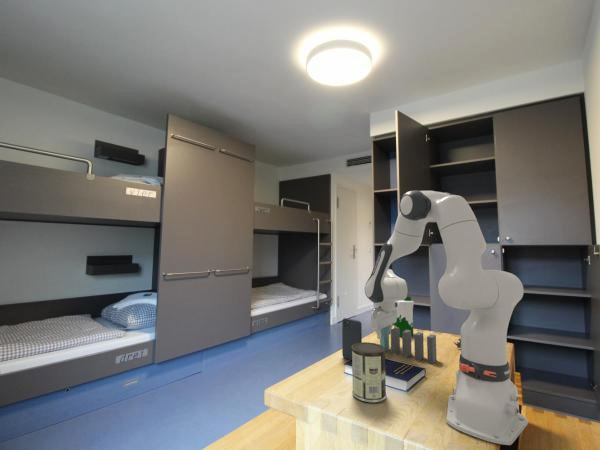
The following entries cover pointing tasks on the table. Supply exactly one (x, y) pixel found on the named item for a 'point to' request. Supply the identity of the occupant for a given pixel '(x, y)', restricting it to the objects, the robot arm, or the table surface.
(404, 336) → the domino
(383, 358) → the coffee can
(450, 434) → the table surface
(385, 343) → the domino
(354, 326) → the phone case
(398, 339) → the domino
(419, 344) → the domino
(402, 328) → the milk carton
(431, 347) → the domino
